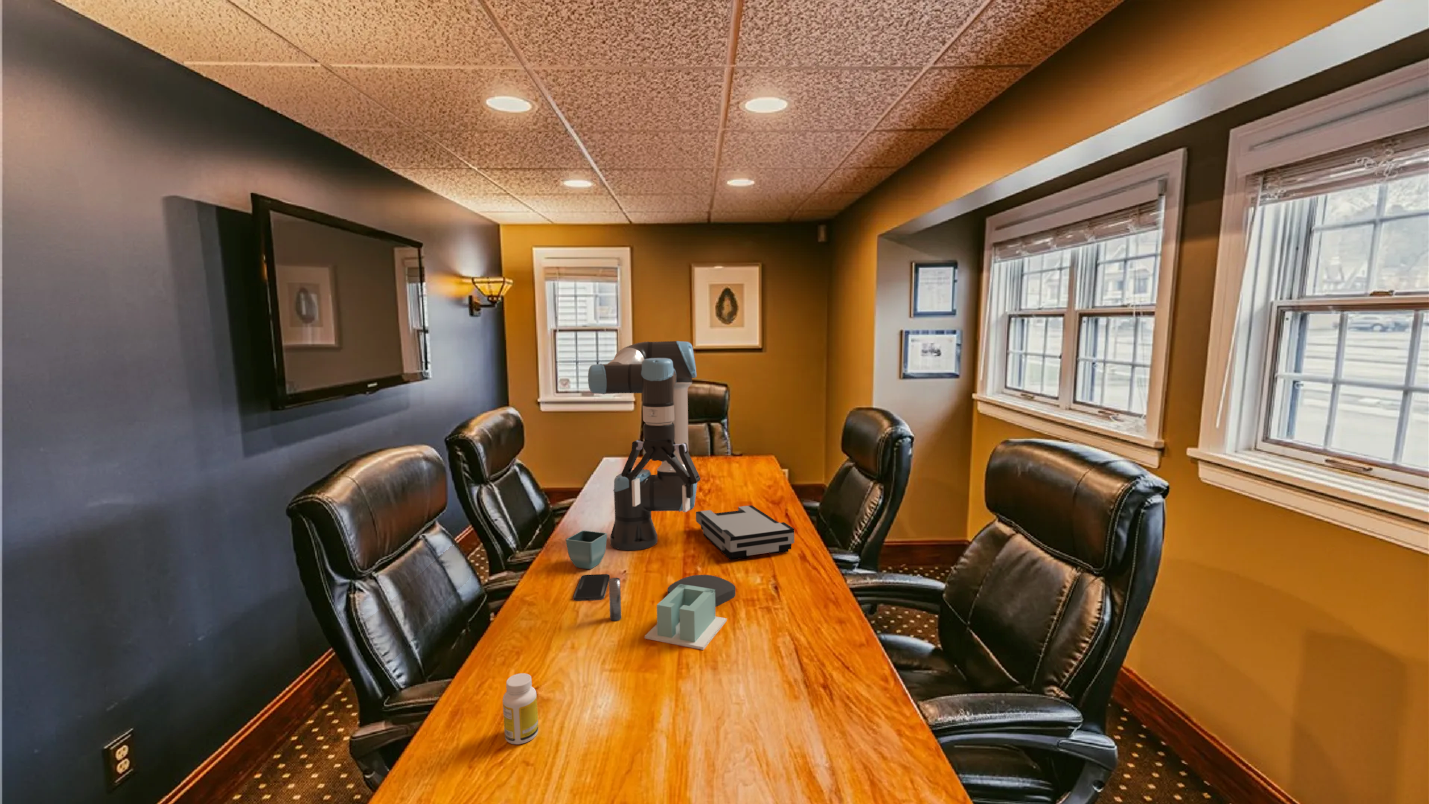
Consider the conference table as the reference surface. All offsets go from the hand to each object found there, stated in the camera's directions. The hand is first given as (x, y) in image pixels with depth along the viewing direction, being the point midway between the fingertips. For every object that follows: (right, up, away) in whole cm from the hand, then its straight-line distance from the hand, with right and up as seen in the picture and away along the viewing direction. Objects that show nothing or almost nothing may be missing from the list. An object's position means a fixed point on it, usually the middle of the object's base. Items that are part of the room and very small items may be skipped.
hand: (661, 507), depth 148 cm
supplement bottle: (-19, -30, -47) cm, 59 cm away
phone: (-19, -24, +12) cm, 33 cm away
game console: (+22, -20, +47) cm, 55 cm away
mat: (+7, -26, -11) cm, 29 cm away
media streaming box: (+10, -24, +7) cm, 27 cm away
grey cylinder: (-10, -25, -6) cm, 28 cm away
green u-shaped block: (+7, -25, -11) cm, 28 cm away
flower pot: (-24, -22, +27) cm, 42 cm away
